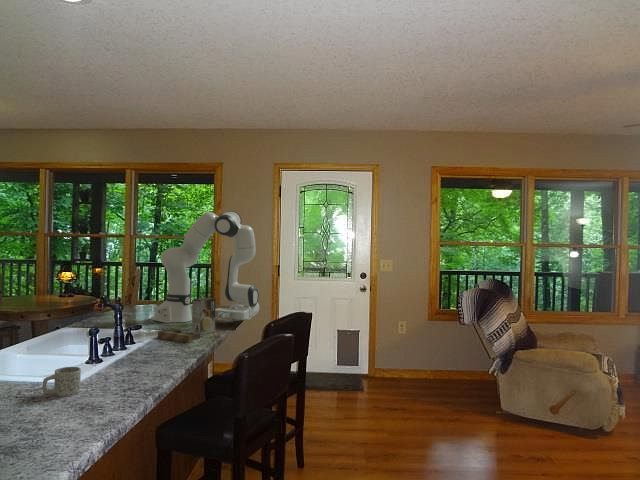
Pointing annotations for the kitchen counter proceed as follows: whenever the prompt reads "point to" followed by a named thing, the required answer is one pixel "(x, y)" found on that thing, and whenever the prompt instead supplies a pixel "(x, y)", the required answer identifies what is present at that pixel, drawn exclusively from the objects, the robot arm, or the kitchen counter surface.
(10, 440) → the kitchen counter surface
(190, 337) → the walnut dock
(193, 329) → the coffee box
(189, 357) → the kitchen counter surface
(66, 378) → the mug
